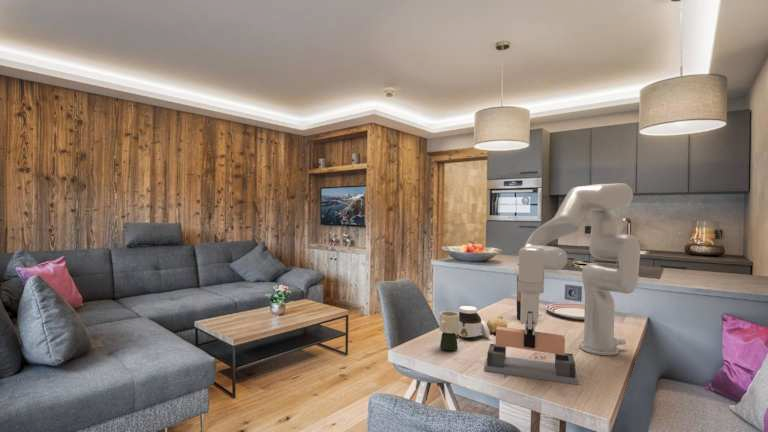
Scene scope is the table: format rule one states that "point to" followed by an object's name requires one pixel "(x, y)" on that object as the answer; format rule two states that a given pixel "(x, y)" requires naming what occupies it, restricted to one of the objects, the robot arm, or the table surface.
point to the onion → (496, 323)
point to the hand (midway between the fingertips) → (529, 344)
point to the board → (531, 370)
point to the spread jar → (471, 324)
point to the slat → (542, 340)
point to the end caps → (562, 362)
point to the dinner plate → (568, 310)
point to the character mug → (449, 329)
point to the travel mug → (518, 301)
